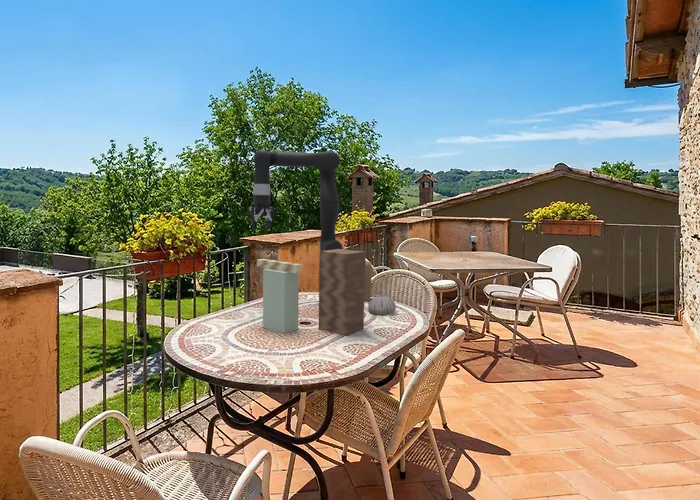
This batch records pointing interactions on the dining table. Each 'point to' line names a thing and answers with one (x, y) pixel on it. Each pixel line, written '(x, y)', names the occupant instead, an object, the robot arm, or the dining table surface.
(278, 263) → the oak rod
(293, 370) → the dining table surface
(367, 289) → the wooden block
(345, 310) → the walnut pillar
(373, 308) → the sea urchin shell
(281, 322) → the sage pedestal
